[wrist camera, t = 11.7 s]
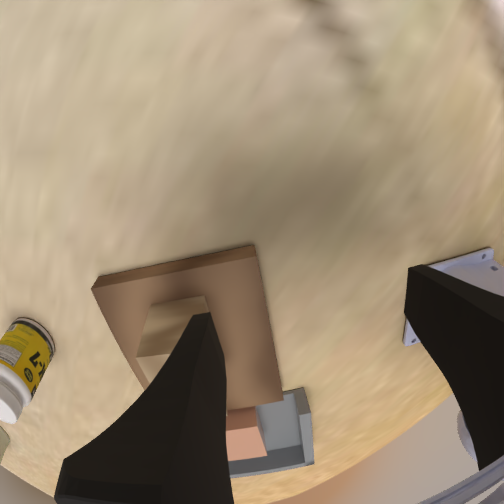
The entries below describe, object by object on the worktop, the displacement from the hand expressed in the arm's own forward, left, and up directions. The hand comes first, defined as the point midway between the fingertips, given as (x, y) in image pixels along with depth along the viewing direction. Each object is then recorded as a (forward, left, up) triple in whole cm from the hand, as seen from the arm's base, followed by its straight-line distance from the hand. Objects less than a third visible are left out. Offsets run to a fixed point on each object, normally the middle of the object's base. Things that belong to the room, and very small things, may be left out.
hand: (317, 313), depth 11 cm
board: (+7, +9, -10) cm, 15 cm away
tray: (+7, +22, -10) cm, 25 cm away
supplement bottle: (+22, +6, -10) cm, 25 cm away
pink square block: (+7, +19, -10) cm, 22 cm away
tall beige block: (+7, +6, -8) cm, 13 cm away
